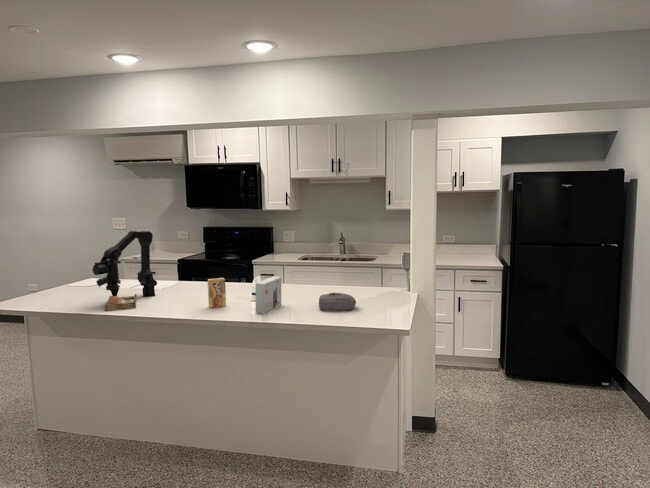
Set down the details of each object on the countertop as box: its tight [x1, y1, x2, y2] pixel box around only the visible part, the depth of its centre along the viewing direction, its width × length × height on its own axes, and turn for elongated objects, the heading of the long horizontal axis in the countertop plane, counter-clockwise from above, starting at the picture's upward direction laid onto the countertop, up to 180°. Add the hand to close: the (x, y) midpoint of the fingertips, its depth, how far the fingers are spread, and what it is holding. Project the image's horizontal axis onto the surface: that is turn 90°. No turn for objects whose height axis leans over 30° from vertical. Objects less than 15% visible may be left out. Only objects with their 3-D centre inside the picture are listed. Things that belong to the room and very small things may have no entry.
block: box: [108, 294, 120, 304], centre depth 252 cm, size 5×5×3 cm
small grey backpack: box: [318, 292, 357, 311], centre depth 240 cm, size 15×8×20 cm
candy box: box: [207, 277, 227, 309], centre depth 247 cm, size 9×4×15 cm, turn 116°
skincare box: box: [255, 275, 283, 315], centre depth 240 cm, size 21×5×16 cm, turn 160°
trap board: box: [104, 293, 138, 312], centre depth 255 cm, size 15×23×3 cm, turn 21°
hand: (114, 299), depth 256 cm, fingers closed
